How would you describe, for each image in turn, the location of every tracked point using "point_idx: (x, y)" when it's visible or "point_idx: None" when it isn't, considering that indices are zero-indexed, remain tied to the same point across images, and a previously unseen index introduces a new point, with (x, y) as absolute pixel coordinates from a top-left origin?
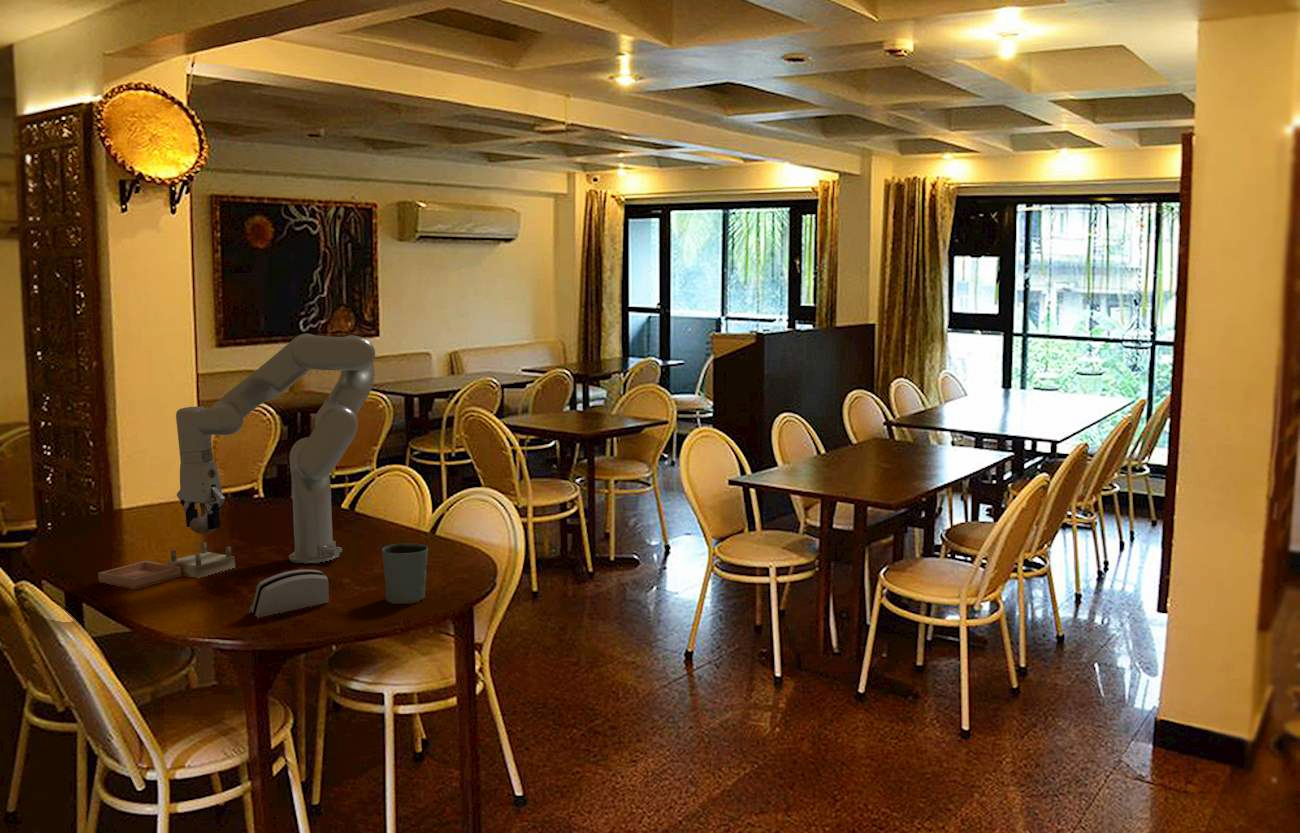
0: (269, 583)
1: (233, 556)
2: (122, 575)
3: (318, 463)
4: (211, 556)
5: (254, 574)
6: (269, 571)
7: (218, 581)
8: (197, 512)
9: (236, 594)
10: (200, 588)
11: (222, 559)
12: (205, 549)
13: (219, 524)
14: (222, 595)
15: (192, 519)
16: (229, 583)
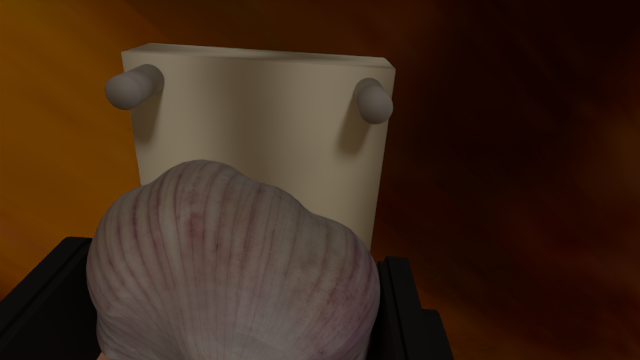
0: None
1: (388, 71)
2: (100, 354)
3: None
4: (267, 125)
5: (556, 106)
6: (605, 28)
7: (465, 244)
8: (13, 337)
9: (636, 324)
10: (462, 323)
11: (377, 148)
12: (155, 84)
13: (409, 278)
14: (592, 345)
15: (79, 339)
16: (528, 247)
